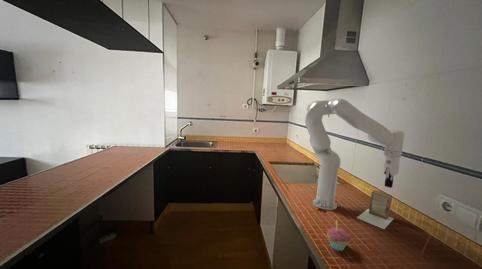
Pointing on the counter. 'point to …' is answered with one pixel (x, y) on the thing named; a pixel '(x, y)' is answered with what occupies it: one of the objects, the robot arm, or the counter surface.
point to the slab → (380, 204)
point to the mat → (374, 219)
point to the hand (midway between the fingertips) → (388, 186)
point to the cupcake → (338, 238)
